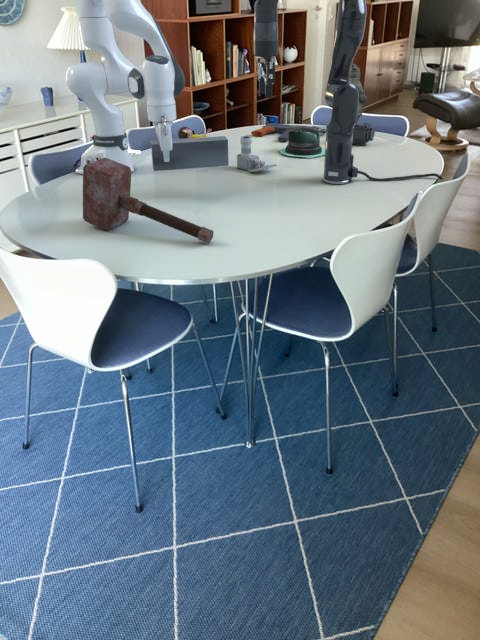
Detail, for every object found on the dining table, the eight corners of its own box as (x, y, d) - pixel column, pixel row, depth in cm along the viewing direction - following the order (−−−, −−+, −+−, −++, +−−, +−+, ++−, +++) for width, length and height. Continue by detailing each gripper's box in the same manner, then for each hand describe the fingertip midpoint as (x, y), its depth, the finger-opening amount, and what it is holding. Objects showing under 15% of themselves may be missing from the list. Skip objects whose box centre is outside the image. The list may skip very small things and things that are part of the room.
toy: (345, 120, 249) (377, 123, 242) (343, 139, 253) (375, 143, 246) (337, 123, 243) (369, 127, 236) (336, 143, 247) (367, 147, 240)
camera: (247, 133, 214) (277, 139, 205) (247, 164, 220) (276, 171, 211) (231, 137, 209) (262, 144, 200) (232, 169, 215) (261, 176, 206)
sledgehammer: (223, 202, 148) (103, 155, 160) (205, 213, 141) (81, 164, 152) (214, 257, 158) (102, 210, 170) (196, 271, 151) (81, 220, 163)
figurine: (211, 139, 238) (170, 125, 250) (210, 157, 242) (170, 142, 255) (230, 134, 247) (190, 120, 259) (229, 150, 251) (189, 136, 263)
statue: (367, 132, 266) (374, 63, 251) (349, 133, 264) (355, 64, 249) (357, 127, 275) (362, 61, 260) (339, 129, 273) (344, 62, 258)
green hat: (332, 145, 241) (326, 158, 224) (294, 164, 249) (286, 177, 233) (317, 113, 235) (310, 124, 219) (279, 133, 244) (269, 145, 228)
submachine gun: (244, 132, 259) (268, 122, 277) (244, 138, 260) (268, 128, 279) (307, 138, 245) (328, 127, 264) (307, 145, 246) (328, 133, 265)
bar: (153, 171, 178) (151, 144, 173) (152, 166, 182) (150, 140, 178) (228, 165, 182) (227, 139, 177) (225, 161, 186) (224, 136, 182)
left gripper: (175, 119, 164) (178, 166, 171) (169, 107, 181) (172, 150, 188) (153, 120, 163) (158, 167, 170) (150, 108, 180) (154, 151, 187)
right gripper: (283, 39, 163) (282, 98, 172) (272, 37, 176) (271, 91, 184) (259, 40, 162) (259, 99, 171) (249, 37, 174) (249, 92, 183)
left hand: (165, 158), depth 179 cm, fingers closed on bar, 5 cm apart
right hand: (265, 95), depth 177 cm, fingers open, 8 cm apart
